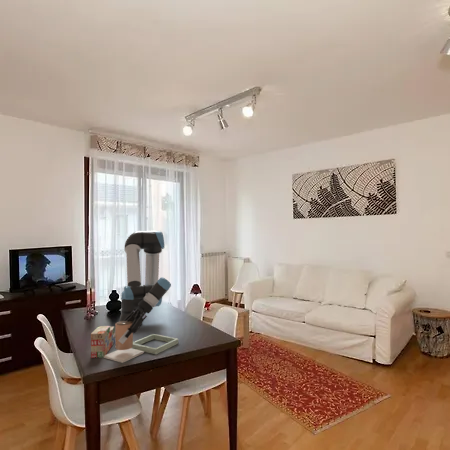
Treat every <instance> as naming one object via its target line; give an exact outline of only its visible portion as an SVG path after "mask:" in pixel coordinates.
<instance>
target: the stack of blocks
mask: <svg viewBox="0 0 450 450" xmlns="http://www.w3.org/2000/svg"><path fill="white" fill-rule="evenodd" d="M114 334H115V326H110V325H101V326H98V327H96V329H94V330H93V331H92V332H91V333H90V358H91V359H95V357H96V358H97V357H99V358H104V356H105V355H107V354H108V353H109V351H110V350H111V348H112V347H113V346H114V344H115V337H113V335H114ZM97 359H98V358H97Z"/></svg>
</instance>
